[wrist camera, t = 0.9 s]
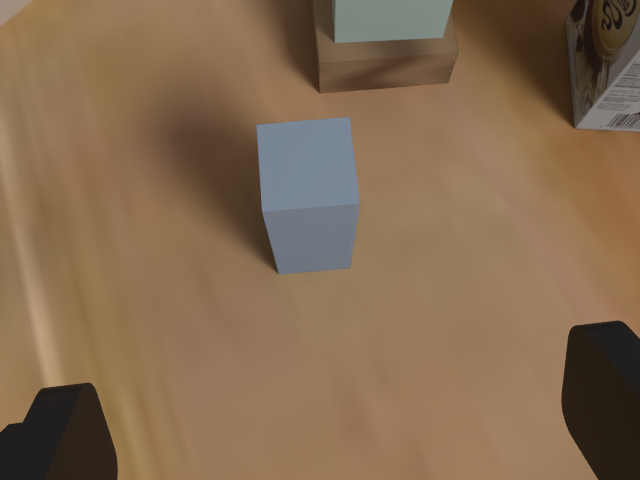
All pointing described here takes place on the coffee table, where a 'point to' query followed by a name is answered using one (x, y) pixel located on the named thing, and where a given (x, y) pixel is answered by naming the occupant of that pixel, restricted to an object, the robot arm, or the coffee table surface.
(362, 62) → the walnut slab
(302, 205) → the slate pillar
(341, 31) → the sage slab
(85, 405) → the robot arm
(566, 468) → the coffee table surface
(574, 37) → the coffee box
